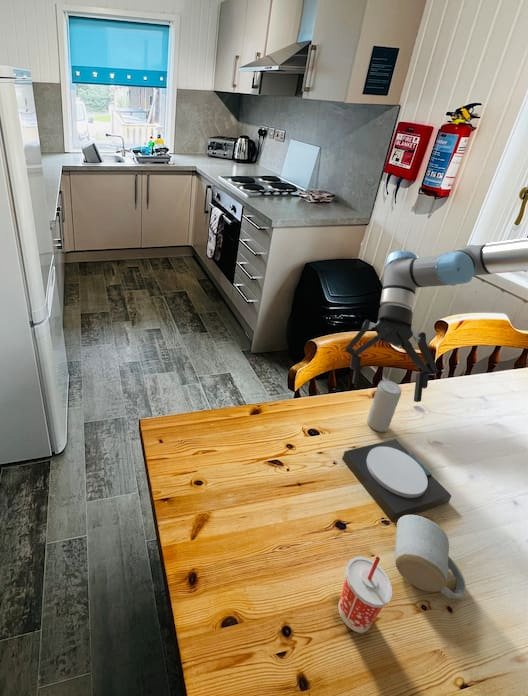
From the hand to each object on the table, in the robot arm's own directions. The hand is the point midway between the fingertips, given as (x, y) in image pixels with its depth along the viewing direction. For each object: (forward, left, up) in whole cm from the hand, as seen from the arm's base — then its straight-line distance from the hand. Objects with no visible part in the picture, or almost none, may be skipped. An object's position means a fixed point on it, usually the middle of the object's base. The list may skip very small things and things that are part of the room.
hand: (385, 392), depth 94 cm
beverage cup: (-32, +33, -9) cm, 47 cm away
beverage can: (-2, +1, -9) cm, 9 cm away
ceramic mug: (-30, +17, -9) cm, 35 cm away
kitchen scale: (-15, +9, -8) cm, 19 cm away
